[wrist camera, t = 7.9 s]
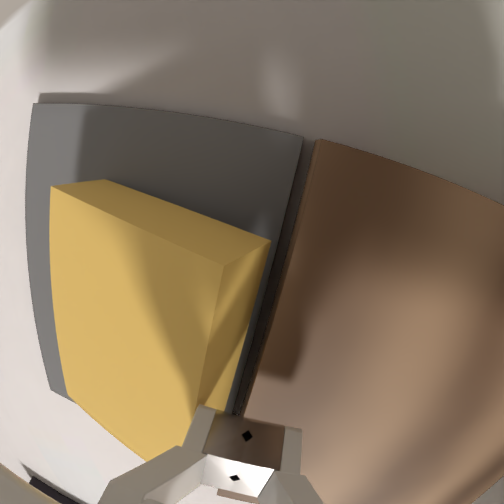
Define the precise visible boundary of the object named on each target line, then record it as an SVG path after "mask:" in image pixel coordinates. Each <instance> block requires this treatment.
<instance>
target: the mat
mask: <svg viewBox="0 0 504 504" xmlns="http://www.w3.org/2000/svg"><path fill="white" fill-rule="evenodd" d="M303 138H304V137H302V136H298V135H294V134H290V133H286V132H281V131H277V130H272V129H268V128H263V127H258V126H254V125H249V124H244V123H238V122H233V121H228V120H222V119H216V118H210V117H204V116H198V115H191V114H184V113H177V112H169V111H161V110H152V109H143V108H133V107H121V106H108V105H91V104H65V103H33V108H32V115H31V122H30V131H29V140H28V151H27V166H26V190H25V220H26V245H27V260H28V271H29V281H30V289H31V297H32V304H33V311H34V317H35V323H36V329H37V334H38V339H39V344H40V349H41V353H42V358H43V362H44V366H45V370H46V374H47V378H48V382H49V386H50V389H51V390H52V391H54V392H55V393H57V394H59V395H61V396H63V397H65V398H67V399H69V400H70V401H72V402H74V403H76V402H75V401H74V400H73V399H72V398H70V397H69V396H68V395H67V390H66V386H65V381H64V376H63V371H62V365H61V360H60V354H59V348H58V341H57V334H56V327H55V319H54V310H53V299H52V287H51V272H50V242H49V220H50V191H51V186H55V185H62V184H69V183H77V182H85V181H94V180H102V179H106V180H109V181H112V182H115V183H117V184H120V185H123V186H126V187H128V188H131V189H134V190H137V191H139V192H142V193H145V194H148V195H150V196H153V197H156V198H159V199H161V200H164V201H167V202H170V203H172V204H175V205H178V206H180V207H183V208H186V209H188V210H191V211H194V212H197V213H199V214H202V215H205V216H207V217H210V218H213V219H215V220H218V221H221V222H223V223H226V224H229V225H231V226H234V227H236V228H239V229H242V230H244V231H247V232H250V233H252V234H255V235H257V236H260V237H263V238H265V239H268V240H271V245H270V248H269V252H268V256H267V260H266V263H265V267H264V271H263V274H262V278H261V282H260V285H259V289H258V293H257V296H256V300H255V304H254V307H253V311H252V315H251V318H250V322H249V326H248V329H247V333H246V336H245V340H244V343H243V347H242V351H241V354H240V358H239V361H238V365H237V368H236V372H235V375H234V379H233V382H232V386H231V389H230V393H229V396H228V400H227V403H226V407H225V410H224V411H225V412H228V413H231V414H232V411H233V408H234V404H235V400H236V397H237V393H238V390H239V386H240V383H241V379H242V376H243V372H244V368H245V365H246V361H247V357H248V354H249V350H250V346H251V343H252V339H253V335H254V332H255V328H256V324H257V321H258V317H259V313H260V309H261V306H262V302H263V298H264V294H265V290H266V287H267V283H268V279H269V275H270V271H271V267H272V263H273V260H274V256H275V252H276V248H277V244H278V240H279V236H280V232H281V228H282V224H283V220H284V216H285V212H286V208H287V204H288V200H289V196H290V192H291V188H292V184H293V180H294V175H295V171H296V167H297V163H298V159H299V155H300V150H301V146H302V142H303ZM76 404H77V403H76Z"/></svg>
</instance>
